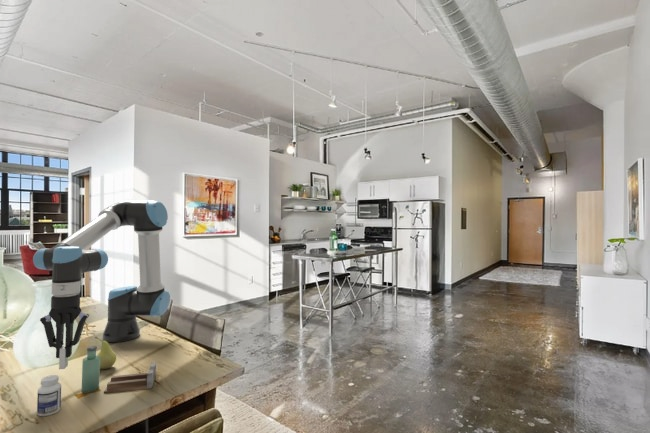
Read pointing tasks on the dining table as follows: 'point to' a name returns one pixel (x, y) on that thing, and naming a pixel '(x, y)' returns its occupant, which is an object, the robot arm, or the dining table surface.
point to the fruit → (106, 355)
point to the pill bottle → (49, 396)
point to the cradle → (132, 381)
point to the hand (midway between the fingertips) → (63, 367)
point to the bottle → (90, 370)
